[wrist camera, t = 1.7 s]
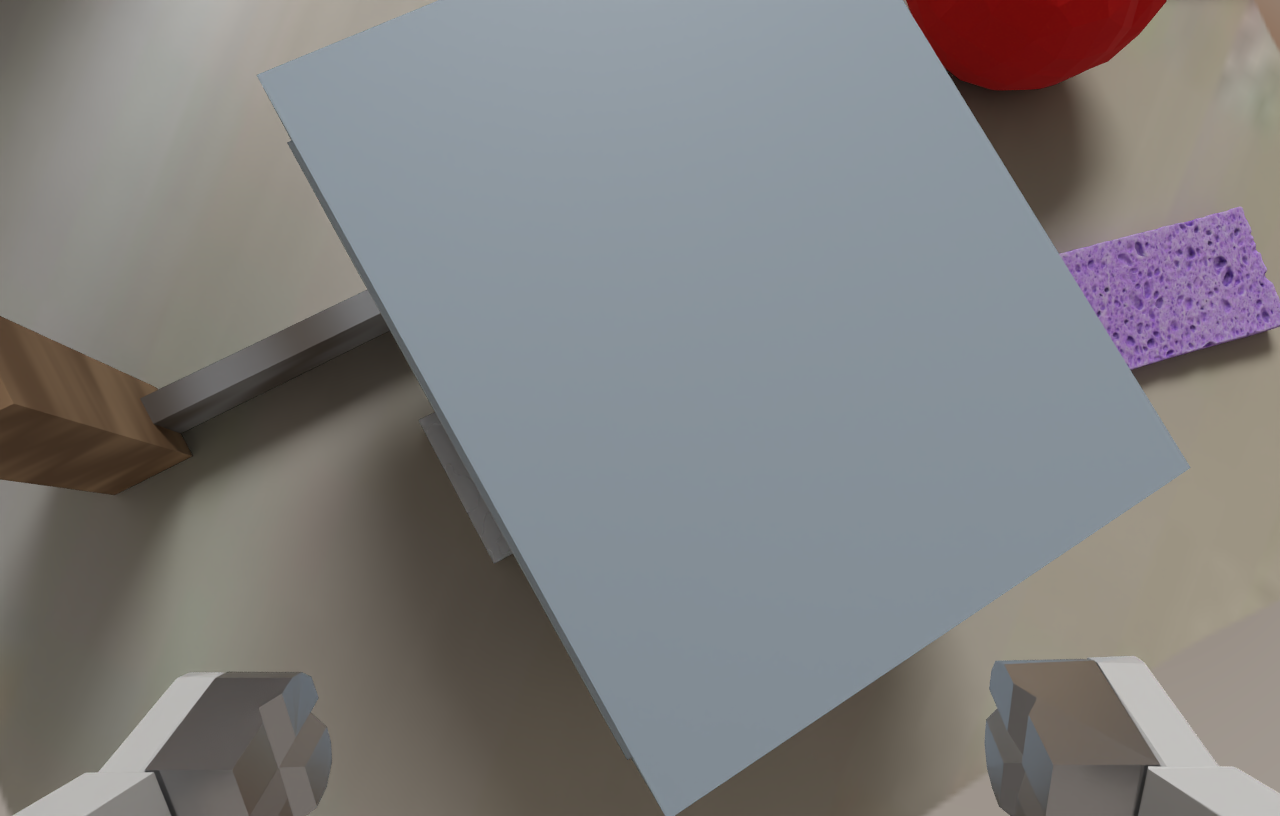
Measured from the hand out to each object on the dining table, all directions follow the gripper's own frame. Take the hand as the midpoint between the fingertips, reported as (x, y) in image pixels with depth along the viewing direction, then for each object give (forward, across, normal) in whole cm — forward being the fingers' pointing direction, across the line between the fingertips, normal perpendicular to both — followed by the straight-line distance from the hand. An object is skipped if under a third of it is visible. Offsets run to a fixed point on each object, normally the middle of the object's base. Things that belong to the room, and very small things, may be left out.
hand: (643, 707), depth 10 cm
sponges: (+40, -25, +8) cm, 47 cm away
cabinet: (+30, +2, +8) cm, 31 cm away
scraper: (+27, +19, +5) cm, 34 cm away
